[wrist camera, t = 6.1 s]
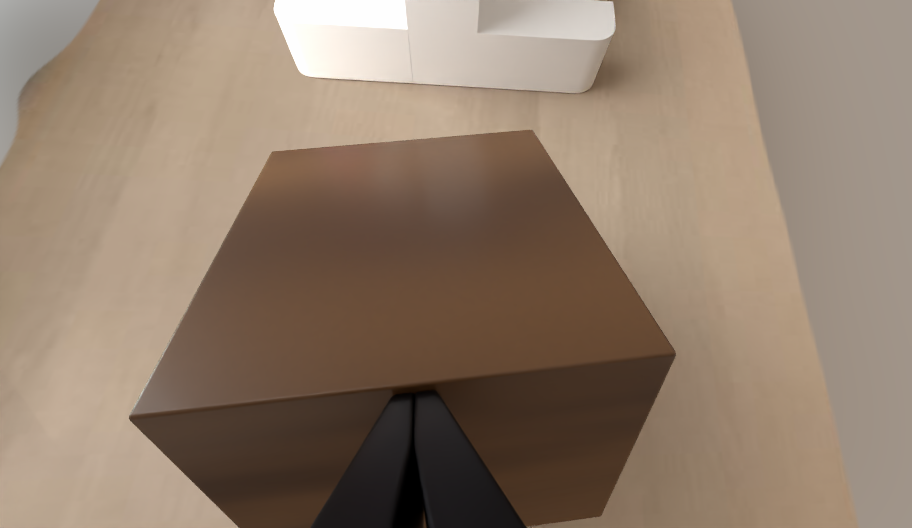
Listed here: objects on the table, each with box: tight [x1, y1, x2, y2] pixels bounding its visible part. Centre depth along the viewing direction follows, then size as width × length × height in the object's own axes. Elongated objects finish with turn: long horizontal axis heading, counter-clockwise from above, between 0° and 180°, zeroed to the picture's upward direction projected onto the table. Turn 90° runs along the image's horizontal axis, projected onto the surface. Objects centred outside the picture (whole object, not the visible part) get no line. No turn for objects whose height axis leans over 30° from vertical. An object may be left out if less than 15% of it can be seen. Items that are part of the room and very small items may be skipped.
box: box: [129, 130, 676, 528], centre depth 14 cm, size 11×10×8 cm
